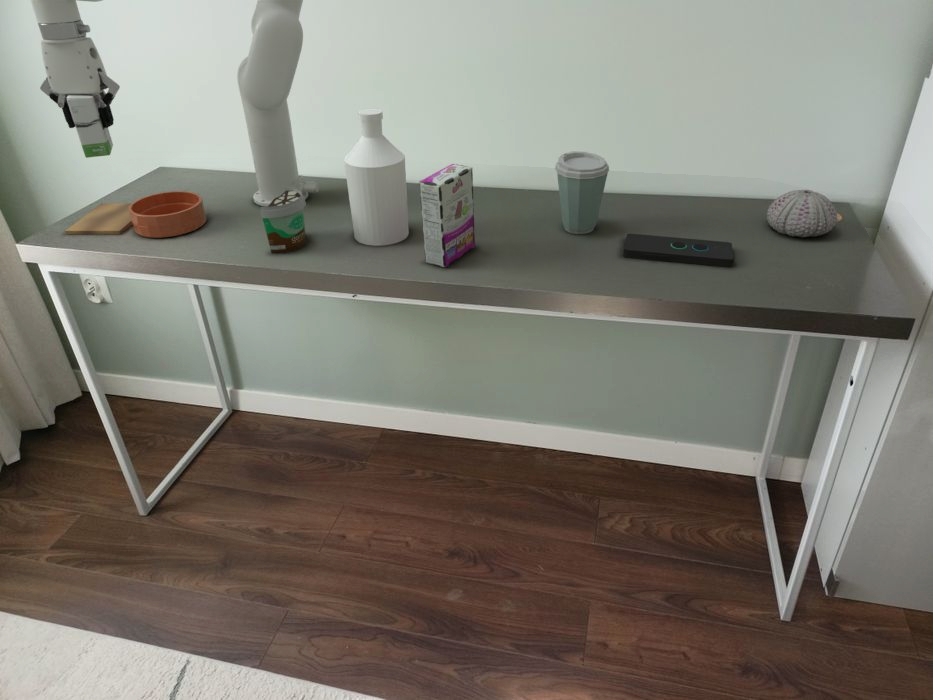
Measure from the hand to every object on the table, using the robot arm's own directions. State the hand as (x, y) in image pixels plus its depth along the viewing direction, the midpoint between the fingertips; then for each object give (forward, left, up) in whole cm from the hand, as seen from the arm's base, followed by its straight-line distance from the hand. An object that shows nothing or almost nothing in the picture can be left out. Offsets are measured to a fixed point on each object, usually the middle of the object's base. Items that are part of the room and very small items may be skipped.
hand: (91, 125), depth 144 cm
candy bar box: (-75, +17, -21) cm, 79 cm away
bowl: (-13, +2, -21) cm, 24 cm away
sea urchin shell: (-146, +4, -21) cm, 147 cm away
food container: (-43, +12, -21) cm, 49 cm away
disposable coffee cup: (-101, +4, -21) cm, 103 cm away
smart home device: (-119, +16, -21) cm, 121 cm away
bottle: (-60, +7, -21) cm, 64 cm away
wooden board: (+2, -1, -21) cm, 21 cm away
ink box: (0, 0, -6) cm, 6 cm away
